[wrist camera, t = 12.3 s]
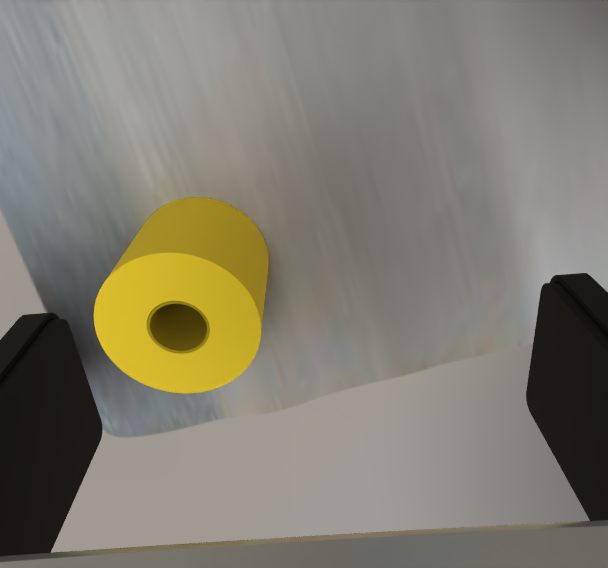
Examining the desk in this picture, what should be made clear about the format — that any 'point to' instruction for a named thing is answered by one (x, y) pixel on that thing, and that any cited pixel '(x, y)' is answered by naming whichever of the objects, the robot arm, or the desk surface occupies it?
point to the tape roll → (186, 298)
